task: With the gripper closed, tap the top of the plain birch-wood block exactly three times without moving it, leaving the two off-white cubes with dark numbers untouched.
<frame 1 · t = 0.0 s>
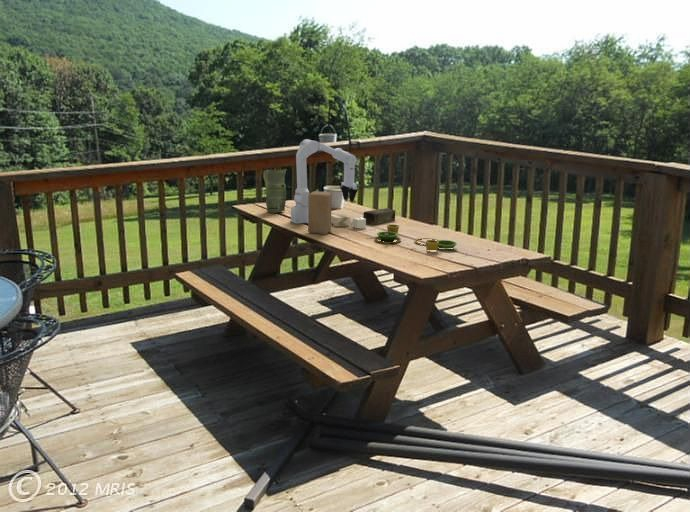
hand: (348, 200, 370), 10 cm above the table, tool pointing down, fingers open, 7 cm apart
block: (319, 232, 338), on the table
plain block: (340, 225, 356), on the table
numbered cube seven: (359, 227, 350), on the table
tableware set: (411, 244, 319), on the table
pouch: (275, 211, 387), on the table
beverage carton: (379, 222, 367), on the table
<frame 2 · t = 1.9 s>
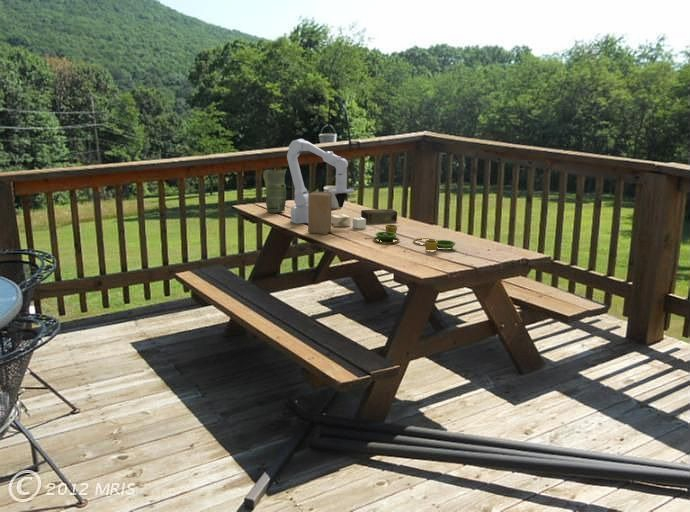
hand: (340, 207, 353), 9 cm above the table, tool pointing down, fingers closed
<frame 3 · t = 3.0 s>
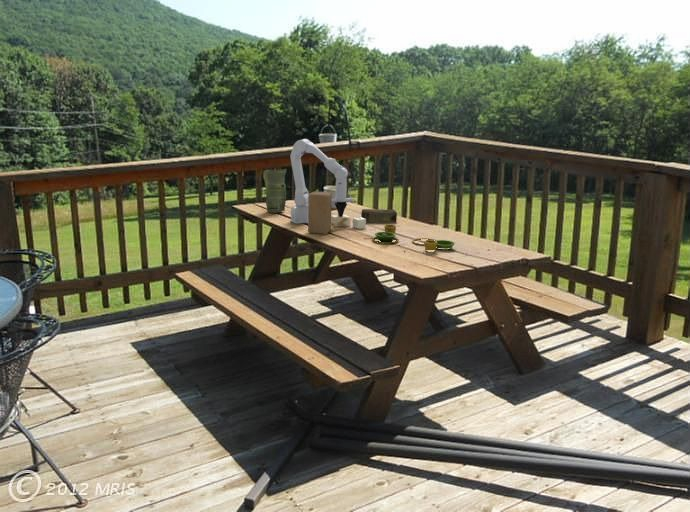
hand: (340, 216, 355), 5 cm above the table, tool pointing down, fingers closed, pressing on plain block
plain block: (340, 225, 356), on the table, touching gripper
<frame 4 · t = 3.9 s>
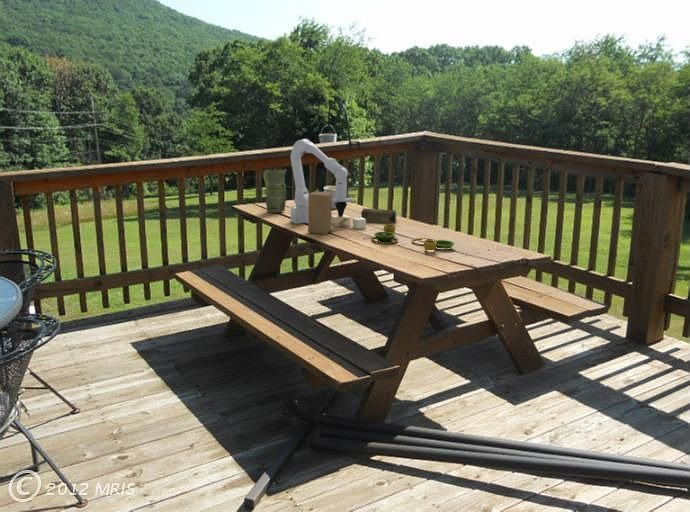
hand: (340, 216, 355), 5 cm above the table, tool pointing down, fingers closed
plain block: (340, 225, 355), on the table, touching gripper
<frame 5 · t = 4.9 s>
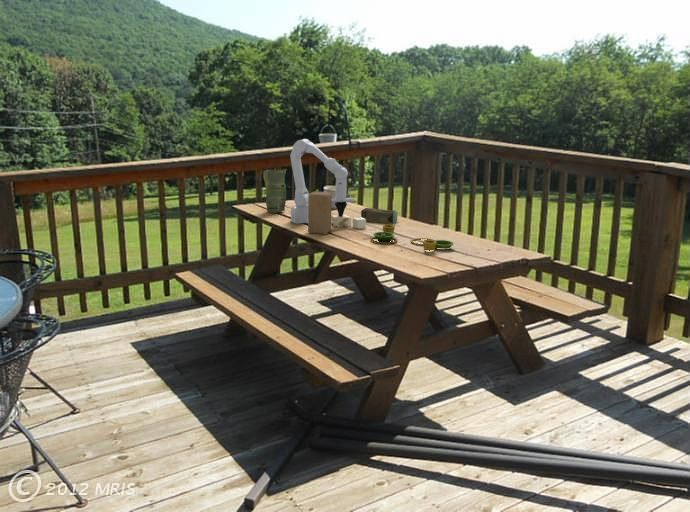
hand: (340, 216, 355), 5 cm above the table, tool pointing down, fingers closed, pressing on plain block
plain block: (340, 225, 355), on the table, touching gripper
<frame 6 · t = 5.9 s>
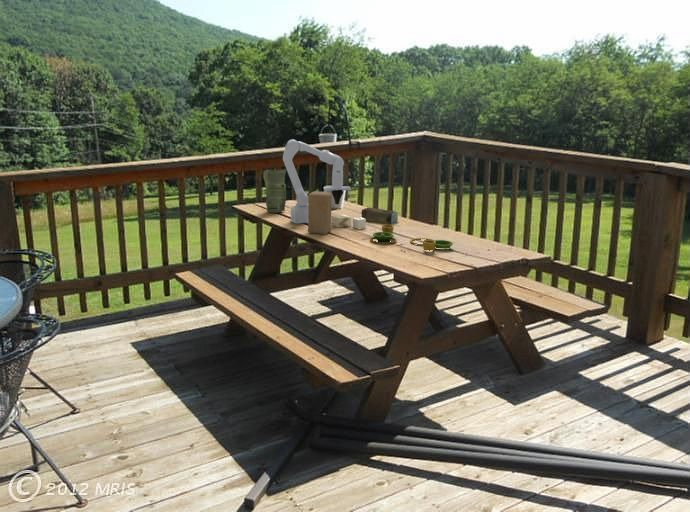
hand: (337, 204, 360), 10 cm above the table, tool pointing down, fingers closed
plain block: (341, 225, 355), on the table
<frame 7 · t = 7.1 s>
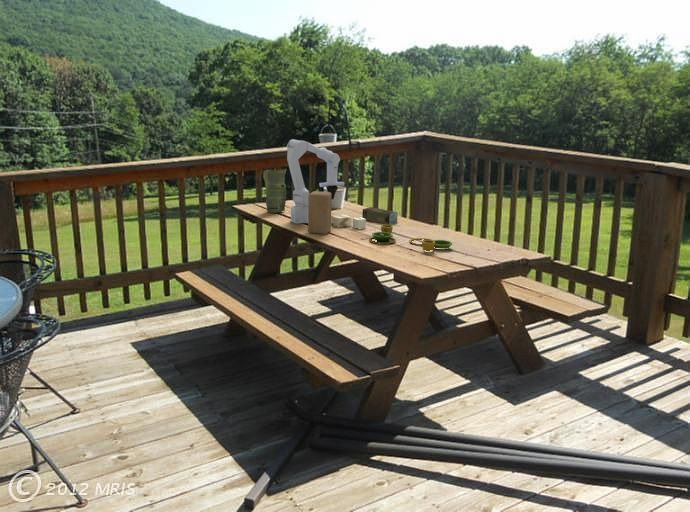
hand: (331, 199, 371), 10 cm above the table, tool pointing down, fingers closed
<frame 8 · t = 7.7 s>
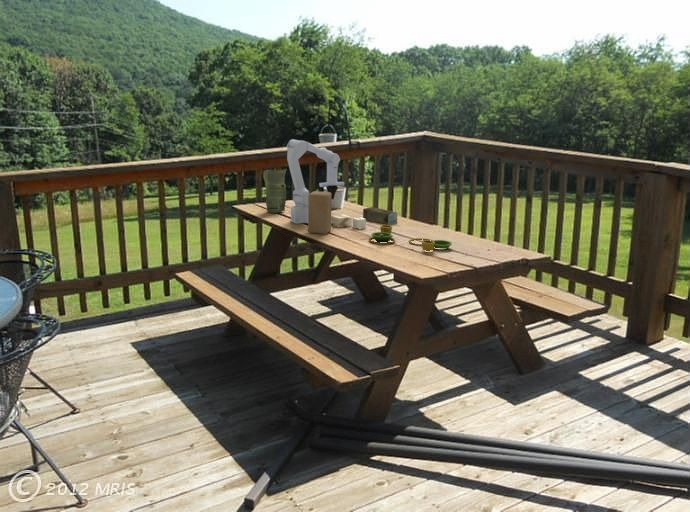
hand: (331, 199, 371), 10 cm above the table, tool pointing down, fingers closed
at the end: plain block moved 1.1 cm from its start; plain block tilted 0°; numbered cube seven moved 0.1 cm from its start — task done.
